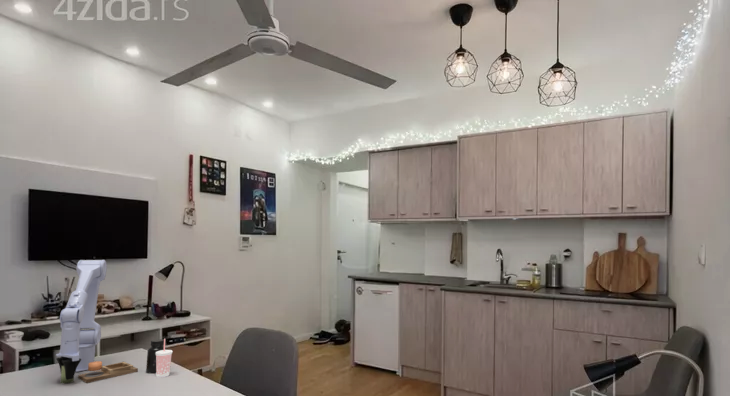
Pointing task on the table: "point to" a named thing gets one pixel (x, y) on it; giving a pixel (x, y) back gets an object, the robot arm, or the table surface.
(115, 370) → the board
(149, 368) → the supplement bottle
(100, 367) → the button
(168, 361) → the beverage cup
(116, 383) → the table surface
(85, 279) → the robot arm
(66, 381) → the cell
